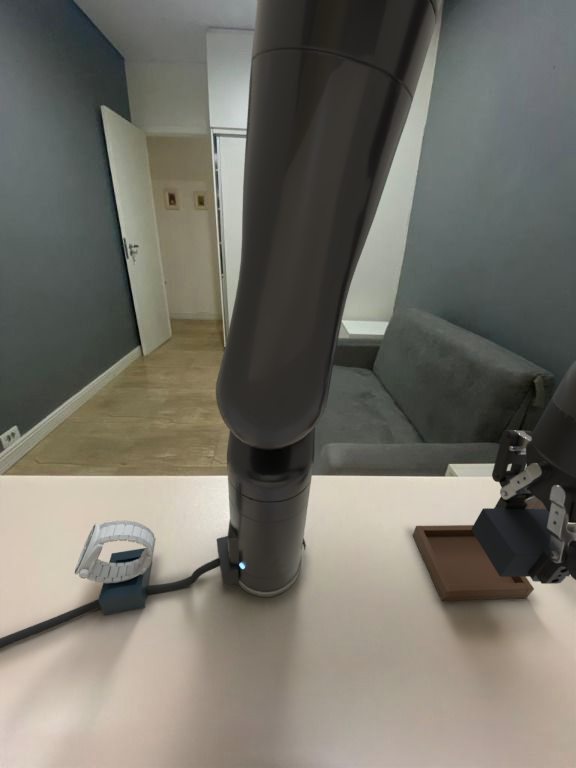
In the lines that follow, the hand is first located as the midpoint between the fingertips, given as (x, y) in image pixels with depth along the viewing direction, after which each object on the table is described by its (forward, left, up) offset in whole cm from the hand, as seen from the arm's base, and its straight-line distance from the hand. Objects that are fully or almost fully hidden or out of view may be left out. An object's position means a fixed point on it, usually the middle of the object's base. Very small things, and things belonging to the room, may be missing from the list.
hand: (519, 548), depth 31 cm
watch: (-42, +4, -13) cm, 45 cm away
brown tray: (+3, +6, -13) cm, 15 cm away
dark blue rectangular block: (0, 0, 0) cm, 0 cm away
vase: (+17, +12, -13) cm, 25 cm away
